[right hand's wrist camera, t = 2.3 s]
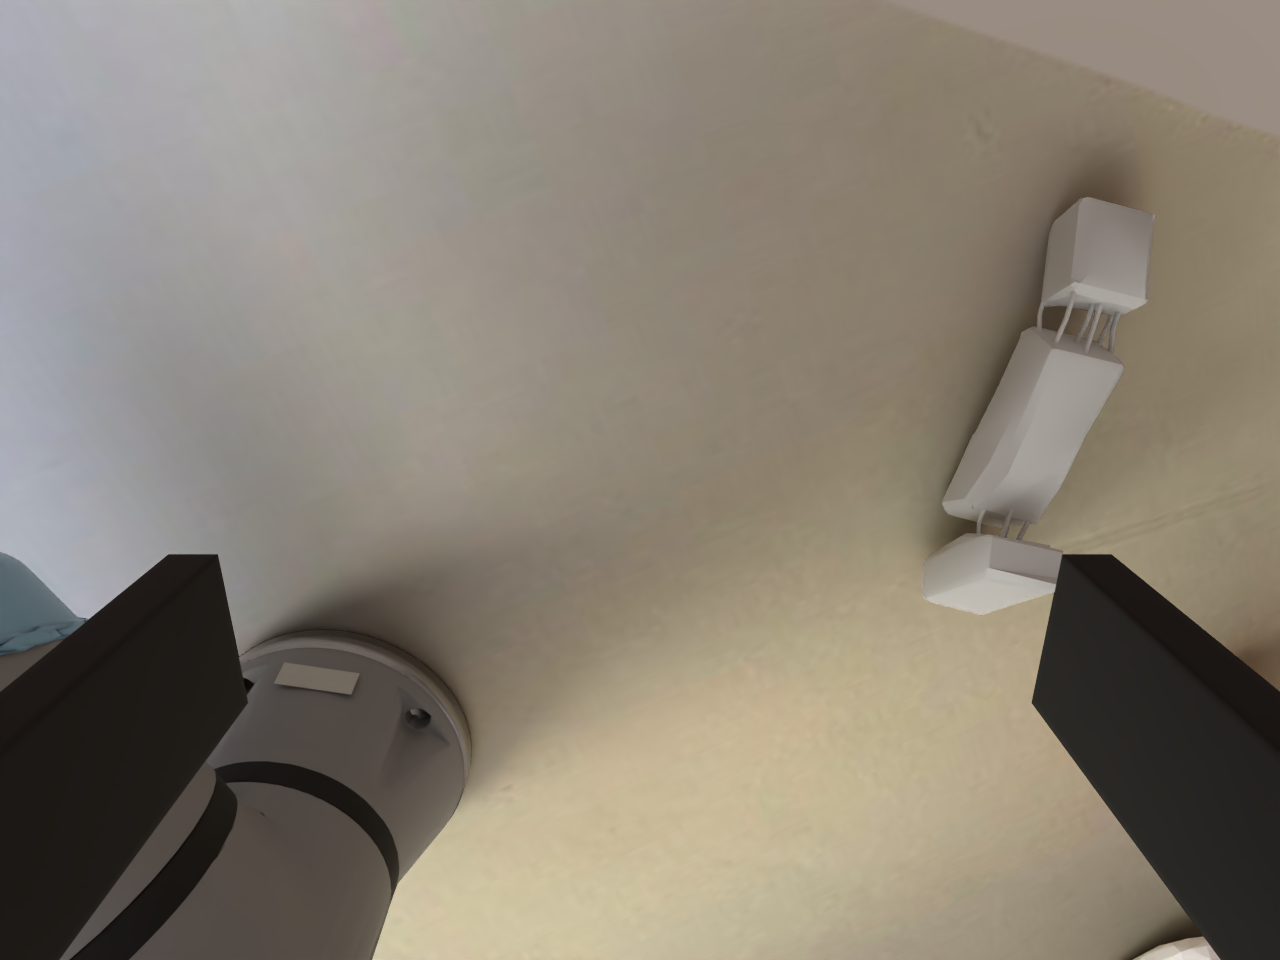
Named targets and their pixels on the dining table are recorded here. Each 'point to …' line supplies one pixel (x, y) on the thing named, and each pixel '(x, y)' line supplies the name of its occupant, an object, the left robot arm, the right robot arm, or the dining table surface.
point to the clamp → (1041, 412)
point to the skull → (1182, 951)
